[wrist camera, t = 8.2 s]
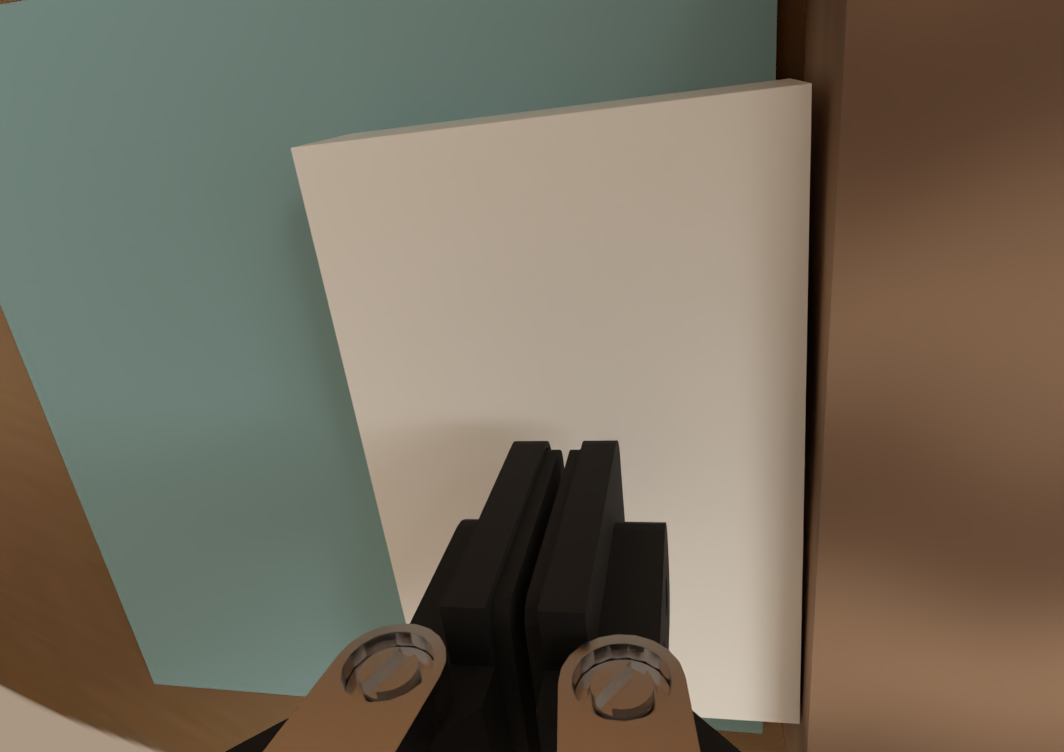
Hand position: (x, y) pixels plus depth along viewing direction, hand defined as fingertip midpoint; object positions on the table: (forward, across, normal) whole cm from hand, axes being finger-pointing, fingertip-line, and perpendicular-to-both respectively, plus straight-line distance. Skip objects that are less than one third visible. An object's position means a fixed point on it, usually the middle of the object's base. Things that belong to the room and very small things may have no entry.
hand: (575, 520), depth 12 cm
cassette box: (+4, 0, 0) cm, 4 cm away
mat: (+4, +5, 0) cm, 7 cm away
